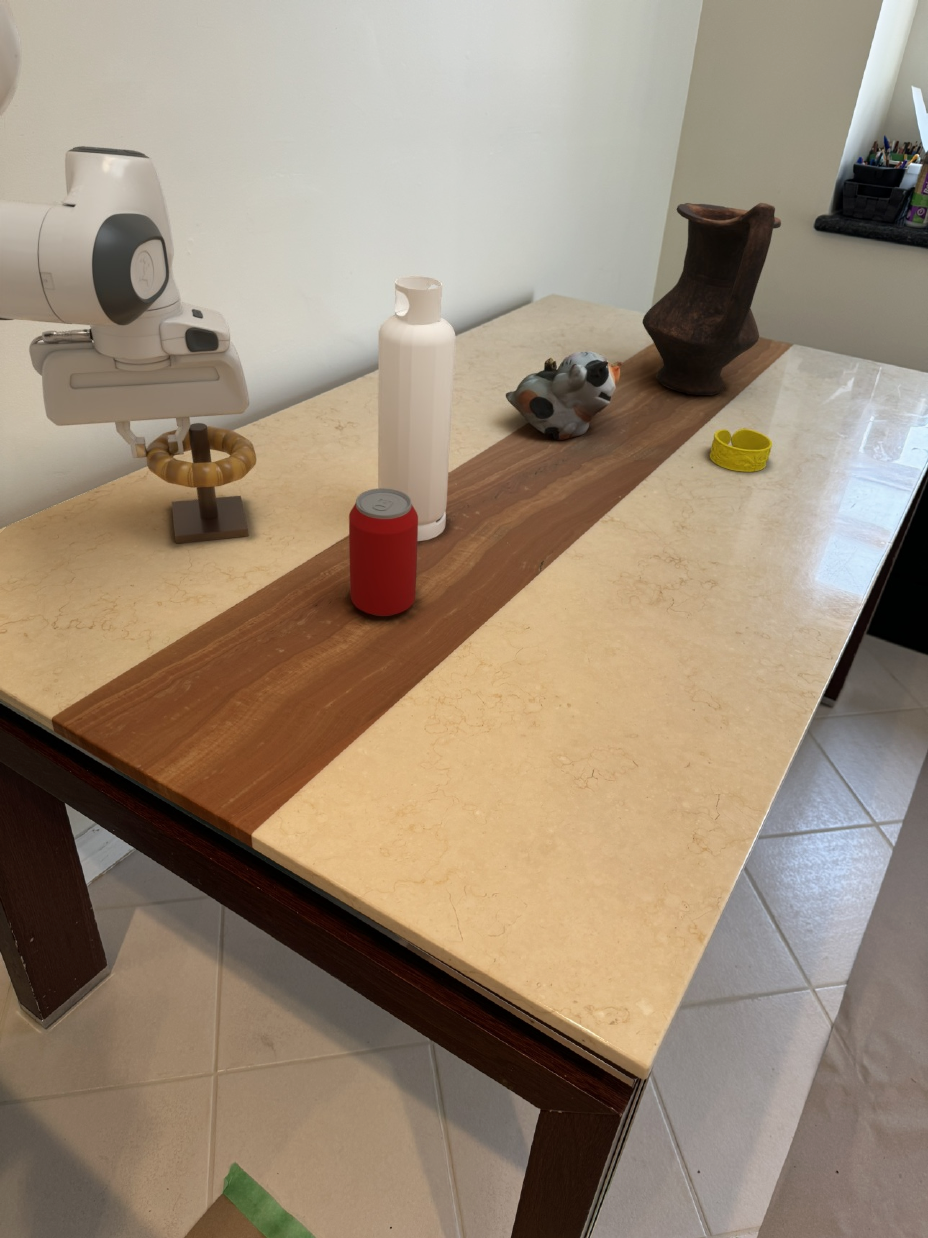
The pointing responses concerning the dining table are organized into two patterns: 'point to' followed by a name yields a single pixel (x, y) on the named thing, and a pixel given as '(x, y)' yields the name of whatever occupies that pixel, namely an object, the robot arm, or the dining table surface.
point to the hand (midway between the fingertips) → (158, 454)
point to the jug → (711, 296)
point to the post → (207, 503)
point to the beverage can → (383, 552)
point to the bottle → (416, 401)
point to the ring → (206, 472)
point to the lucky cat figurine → (566, 394)
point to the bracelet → (740, 450)
